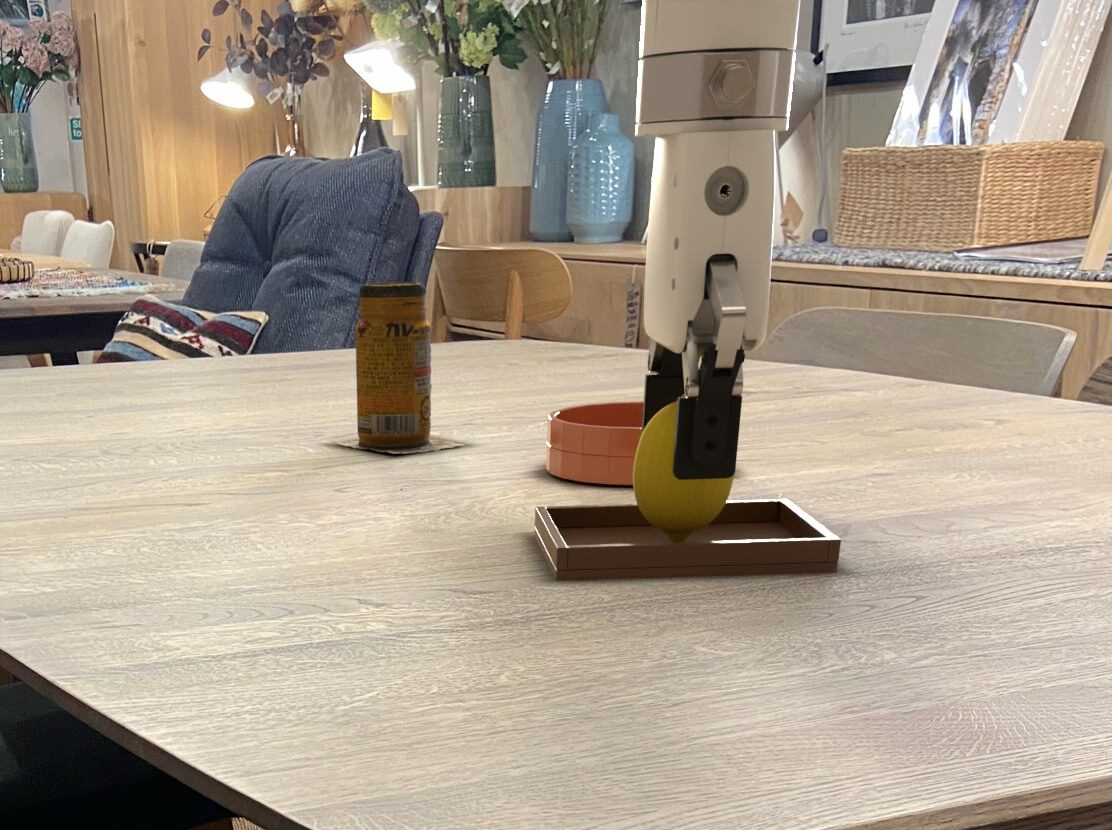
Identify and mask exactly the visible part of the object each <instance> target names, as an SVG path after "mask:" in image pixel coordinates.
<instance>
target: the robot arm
mask: <svg viewBox="0 0 1112 830" xmlns="http://www.w3.org/2000/svg"><path fill="white" fill-rule="evenodd" d="M641 4H642V6H641V22H640V24H641V25H640V36H639V37H640V38H639V39H640V41H639V59H640V60H638V73H637V74H638V76H637V93H636V111H635V112H636V113H635V115H636V116H635V127H634V128H635V132H634V137H636V138H637V137H638V138H653V137H655V143H654V144H655V146H654V155H653V166H652V176H651V179H650V184H651V187H650V199H649V210H648V211H649V212H648V226H647V238H646V254H645V267H644V268H645V270H644V271H645V272H644V291H643V292H644V293H643V294H644V295H643V296H644V297H643V325H644V331H645V333H646V335H647V336H648V337H649V338H650V339H651V340H650V345H649V348H648V354H647V364H646V366H647V374H644V375H645V376H644V391H643V402H644V405H643V421H642V433H643V431H644V428H645V427H646V425H647V424H648V422H649V421H650V420H651V419H652V418H653V416H654V415H655V414H656V413H658V412H659V411H660V410H661V409H663V408H664V407H665V406H667V405H669V404H671V403H674V402H676V401H678V403H677V417H676V430H675V444H674V458H673V475H674V476H675V477H676V478H677V479H679V480H692V479H721V478H730V477H732V476H733V475H735V473H736V469H737V457H738V446H739V436H740V426H741V425H740V424H741V416H742V415H741V414H742V413H741V412H742V406H743V405H742V403H743V391H744V390H743V389H744V369H743V363H744V362H745V358H746V353H745V351H746V352H754V351H756V350H758V349H759V348H760V347H761V346H762V345H763V343H764V342H765V341H766V338H767V335H768V333H767V332H768V323H769V322H768V321H769V308H770V306H769V305H770V294H771V293H770V291H771V275H772V274H771V273H772V261H773V260H772V259H773V258H772V257H773V244H774V243H773V242H774V241H773V240H774V223H775V201H776V200H775V198H776V141H775V139H776V138H775V132H784V131H788V129H789V122H790V121H789V120H790V118H789V117H790V111H791V102H792V92H793V81H794V73H795V61H796V52H795V51H796V49H797V37H798V26H799V16H800V7H801V0H642V3H641ZM699 364H700V365H699ZM683 394H685V397H681V396H682V395H683ZM733 477H734V476H733Z"/></svg>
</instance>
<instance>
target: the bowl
mask: <svg viewBox="0 0 1112 830" xmlns="http://www.w3.org/2000/svg"><path fill="white" fill-rule="evenodd" d="M643 405H644V401H613V402H599V403H588V404H581V405H573V406H568V407H563V408H560V409H555V410H553V411H551V412H550V413H549V414H548V415H547V429H546V430H547V432H546V434H547V435H546V459H545V460H546V463H545V464H546V465H545V469H546V471H547V472H548V473H549V474H551V475H553V476H555V477H558V478H560V479H564V480H570V481H574V482H580V483H588V484H599V485H610V486H611V485H613V486H633V466H634V459H635V454H636V450H637V447H638V443H639V440H640V437H641V435H642V421H643Z"/></svg>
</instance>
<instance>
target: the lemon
mask: <svg viewBox="0 0 1112 830" xmlns="http://www.w3.org/2000/svg"><path fill="white" fill-rule="evenodd" d="M681 397H685V394H683V395H682V396H681ZM677 403H678V401H676V402H674V403H671V404H669V405H667V406H665V407H664V408H663V409H661V410H660V411H659V412H658V413H656V414H655V415H654V416H653V418H652V419H651V420H650V421H649V422H648V424H647V425H646V427H645V428H644V431H643V433H642V435H641V437H640V440H639V443H638V447H637V450H636V454H635V459H634V466H633V485H632V488H633V494H634V499H635V502H636V504H637V505H638V507H639V509H640V511H641V512H642V514H643V516H644V517H645V518H646V519H647V521H648V522H649V523H651V524H652V525H653V526H655V527H657V528H659V529H660V530H662V531H664V532H665V534H666V535H667V536H668V538H669V539H670V540H671V541H672V542H684V541H685V540H686V539H687V538H688V537H689V536H690V535H691V534H692V532H694V531H696V530H698V529H700V528H703V527H704V526H706V525H707V524H709V523H710V522H711V521H712V520H713V519H714V518H715V517H716V516H717V515H718V514H719V513H720V511H721V510H722V508H723V507H724V505H725V503H726V501H728V499H729V496H730V493H731V489H732V487H733V481H734V475H735V474H734V475H733V476H732V477H730V478H721V479H692V480H679V479H677V478H676V477H675V476H674V475H673V458H674V444H675V430H676V417H677Z"/></svg>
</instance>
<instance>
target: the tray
mask: <svg viewBox="0 0 1112 830" xmlns="http://www.w3.org/2000/svg"><path fill="white" fill-rule="evenodd" d="M533 535H534V538H535V541H536V543H537V545H538V546H539V549H540V551H541V553H542V555H543V557H544V560H545V562H546V564H547V566H548V567H549V569H550V572H551V574H552V576H553V577H554V580H555V581H556V582H557V581H559V582H560V581H561V582H562V581H593V580H595V581H596V580H597V581H598V580H625V579H626V580H627V579H660V578H661V579H662V578H693V577H695V578H696V577H725V576H726V577H730V576H731V577H733V576H761V575H763V576H765V575H789V574H790V575H793V574H794V575H798V574H828V573H829V574H830V573H837V572H838V565H839V563H838V562H839V560H840V559H839V558H840V552H841V545H842V539H841V538H839V536H837V535H836V534H834V533H833V532H832V531H830V529H828V528H826V527H825V525H823V524H821V523H820V522H818V521H817V520H816V519H814V518H813V517H812V516H810V515H809V514H808V513H807V512H805V511H804V510H803V509H801V508H800V507H799V506H797V505H796V504H795V503H793V502H792V501H791V500H789V499H788V498H779V499H776V498H775V499H747V500H746V499H744V500H743V499H742V500H727V501H726V503H725V505H724V507H723V508H722V510H721V511H720V513H719V514H718V515H717V516H716V517H715V518H714V519H713V520H712V521H711V522H710V523H709V524H707V525H706V526H704V527H703V528H700V529H698V530H696V531H694V532H692V534H691V535H690V536H689V537H688V538H687V539H686V540H685V541H684V542H672V541H671V540H670V539H669V538H668V536H667V535H666V534H665V532H664V531H662V530H660V529H659V528H657V527H655V526H653V525H652V524H651V523H649V522H648V521H647V519H646V518H645V517H644V516H643V514H642V512H641V511H640V509H639V507H638V505H637V503H613V504H612V503H611V504H584V505H583V504H582V505H579V504H578V505H577V504H576V505H549V506H548V505H547V506H535V508H534V534H533Z"/></svg>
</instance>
